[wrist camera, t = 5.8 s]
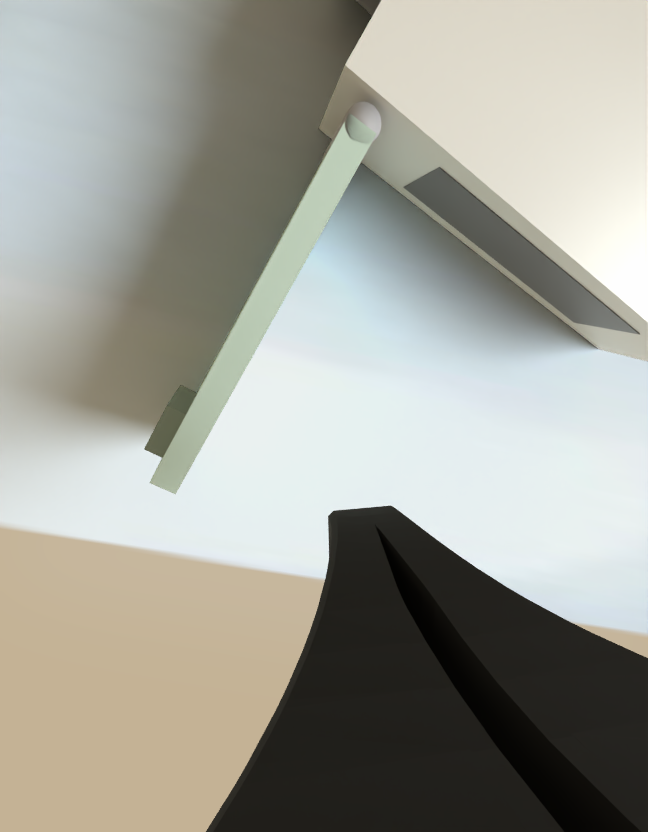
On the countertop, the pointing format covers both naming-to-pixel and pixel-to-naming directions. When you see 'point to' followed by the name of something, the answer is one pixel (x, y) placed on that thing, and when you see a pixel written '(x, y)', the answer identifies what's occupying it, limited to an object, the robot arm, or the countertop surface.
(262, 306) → the side door
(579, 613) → the countertop surface
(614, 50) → the camera box
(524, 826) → the robot arm
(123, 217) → the countertop surface
